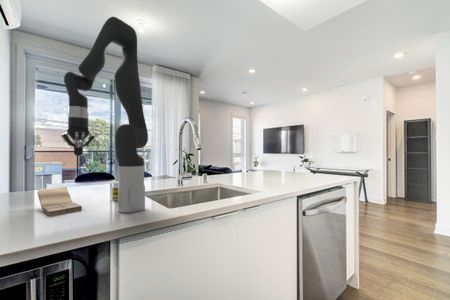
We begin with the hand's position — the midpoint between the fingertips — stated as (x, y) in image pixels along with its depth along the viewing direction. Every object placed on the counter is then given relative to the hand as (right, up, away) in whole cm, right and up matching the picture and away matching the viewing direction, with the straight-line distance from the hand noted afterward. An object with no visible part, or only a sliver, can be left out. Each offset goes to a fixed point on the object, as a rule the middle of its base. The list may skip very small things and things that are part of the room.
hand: (78, 155), depth 95 cm
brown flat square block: (+4, -21, -15) cm, 26 cm away
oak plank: (-4, -18, -8) cm, 20 cm away
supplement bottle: (+16, -21, +4) cm, 27 cm away
